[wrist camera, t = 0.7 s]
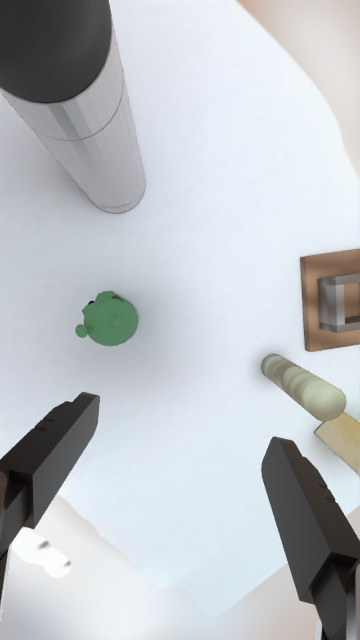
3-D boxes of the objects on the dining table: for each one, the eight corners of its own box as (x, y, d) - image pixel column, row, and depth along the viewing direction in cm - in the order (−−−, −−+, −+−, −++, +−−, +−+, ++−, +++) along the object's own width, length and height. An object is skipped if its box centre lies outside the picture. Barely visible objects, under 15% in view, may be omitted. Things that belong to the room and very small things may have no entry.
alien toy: (134, 287, 31) (118, 283, 21) (146, 332, 32) (136, 349, 22) (91, 296, 31) (55, 298, 21) (105, 342, 32) (76, 363, 22)
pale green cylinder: (260, 356, 34) (308, 389, 22) (284, 352, 34) (345, 383, 22) (262, 379, 35) (310, 424, 23) (286, 375, 35) (346, 418, 23)
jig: (300, 257, 32) (322, 251, 27) (369, 248, 32) (402, 240, 28) (305, 350, 34) (326, 359, 30) (369, 339, 35) (400, 347, 30)
